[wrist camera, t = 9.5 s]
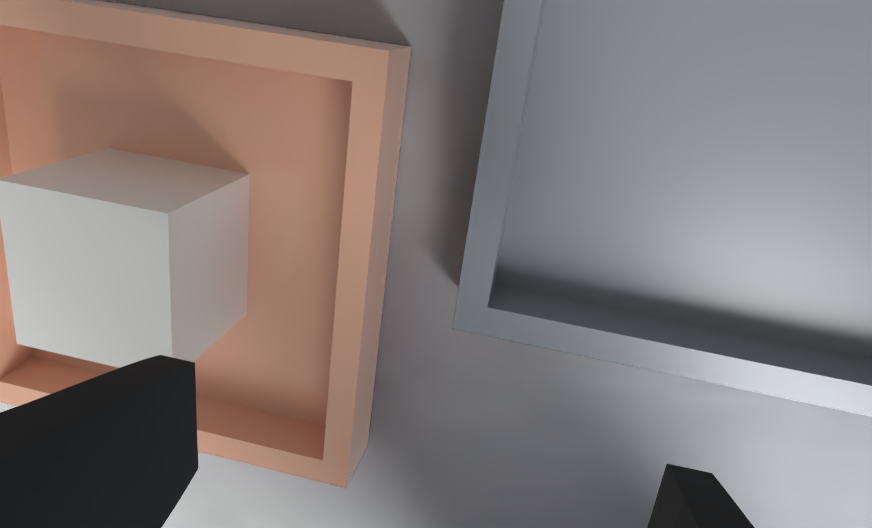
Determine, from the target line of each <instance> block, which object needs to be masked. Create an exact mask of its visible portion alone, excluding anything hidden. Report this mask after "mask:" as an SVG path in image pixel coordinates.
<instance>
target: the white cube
mask: <svg viewBox="0 0 872 528" xmlns="http://www.w3.org/2000/svg"><path fill="white" fill-rule="evenodd" d="M249 192H250V174H247V173H242V172H236V171H231V170H225V169H220V168H215V167H209V166H204V165H198V164H193V163H187V162H182V161H177V160H171V159H166V158H160V157H155V156H150V155H144V154H139V153H133V152H128V151H122V150H117V149H112V148H106V149H102V150H99V151H95V152H92V153H88V154H84V155H81V156H77V157H74V158H70V159H67V160H63V161H59V162H56V163H52V164H49V165H45V166H42V167H38V168H34V169H31V170H27V171H24V172H20V173H17V174H13V175H9V176H6V177H2V178H0V220H1V228H2V235H3V243H4V250H5V258H6V265H7V273H8V280H9V288H10V295H11V303H12V311H13V318H14V326H15V333H16V341H17V344H20V345H24V346H29V347H33V348H37V349H41V350H46V351H50V352H54V353H58V354H63V355H67V356H71V357H75V358H80V359H84V360H88V361H93V362H97V363H101V364H105V365H110V366H114V367H118V368H121V367H123V366H126V365H129V364H132V363H135V362H138V361H141V360H144V359H147V358H150V357H154V356H157V355H163V356H168V357H172V358H177V359H182V360H186V361H191V362H194V361H195V360H196V359H197V358H198V357H199V356H200V355H201V354H203V353H204V352H205V351H206V350H207V349H208V348H209V347H210V346H211V345H213V344H214V343H215V342H216V341H217V340H218V339H219V338H220V337H221V336H222V335H224V334H225V333H226V332H227V331H228V330H229V329H230V328H231V327H232V326H233V325H235V324H236V323H237V322H238V321H239V320H240V319H241V318H242V317H243V316H245V315H246V314H247V291H248V241H249Z"/></svg>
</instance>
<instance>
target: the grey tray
mask: <svg viewBox="0 0 872 528" xmlns="http://www.w3.org/2000/svg"><path fill="white" fill-rule="evenodd" d="M452 329H456V330H461V331H466V332H470V333H475V334H480V335H485V336H489V337H494V338H499V339H504V340H508V341H513V342H518V343H523V344H527V345H532V346H537V347H542V348H547V349H551V350H556V351H561V352H566V353H570V354H575V355H580V356H585V357H589V358H594V359H599V360H604V361H608V362H613V363H618V364H623V365H627V366H632V367H637V368H642V369H647V370H651V371H656V372H661V373H666V374H670V375H675V376H680V377H685V378H689V379H694V380H699V381H704V382H708V383H713V384H718V385H723V386H728V387H732V388H737V389H742V390H747V391H751V392H756V393H761V394H766V395H770V396H775V397H780V398H785V399H789V400H794V401H799V402H804V403H808V404H813V405H818V406H823V407H828V408H832V409H837V410H842V411H847V412H851V413H856V414H861V415H866V416H870V417H872V0H504V3H503V9H502V16H501V22H500V28H499V35H498V41H497V47H496V54H495V60H494V66H493V73H492V79H491V86H490V92H489V98H488V105H487V111H486V117H485V124H484V130H483V136H482V143H481V149H480V155H479V162H478V168H477V175H476V181H475V187H474V194H473V200H472V206H471V213H470V219H469V225H468V232H467V238H466V245H465V251H464V257H463V264H462V270H461V276H460V283H459V289H458V295H457V302H456V308H455V314H454V321H453V327H452Z"/></svg>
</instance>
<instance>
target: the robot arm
mask: <svg viewBox="0 0 872 528" xmlns="http://www.w3.org/2000/svg"><path fill="white" fill-rule="evenodd" d="M197 469H198V444H197V411H196V378H195V362H191V361H186V360H182V359H177V358H172V357H168V356H163V355H157V356H154V357H150V358H147V359H144V360H141V361H138V362H135V363H132V364H129V365H126V366H123V367H121V368H118V369H115V370H112V371H110V372H107V373H104V374H102V375H99V376H97V377H94V378H91V379H89V380H86V381H83V382H81V383H78V384H76V385H73V386H70V387H68V388H65V389H62V390H60V391H57V392H55V393H52V394H49V395H47V396H44V397H41V398H39V399H36V400H33V401H31V402H28V403H26V404H23V405H20V406H18V407H15V408H12V409H9V410H7V411H4V412H1V413H0V528H161V527H162V526H163V524H164V523H165V521H166V520H167V518H168V517H169V515H170V514H171V512H172V510H173V509H174V507H175V506H176V504H177V503H178V501H179V500H180V498H181V496H182V495H183V493H184V491H185V490H186V488H187V486H188V485H189V483H190V481H191V480H192V478H193V476H194V475H195V473H196V471H197ZM648 528H754V527H753V525H752V524H751V523H750V522H749V520H748V519H747V518H746V516H745V515H744V514H743V512H742V511H741V510H740V508H739V507H738V506H737V505H736V503H735V502H734V501H733V499H732V498H731V497H730V495H729V494H728V493H727V492H726V490H725V489H724V488H723V486H722V485H721V484H720V483H719V481H718V480H717V479H716V478H715V476H714V475H713V474H712V473H708V472H703V471H698V470H694V469H689V468H684V467H680V466H675V465H671V464H667V465H666V468H665V472H664V475H663V478H662V482H661V485H660V488H659V492H658V495H657V498H656V501H655V505H654V508H653V511H652V515H651V518H650V521H649V525H648Z"/></svg>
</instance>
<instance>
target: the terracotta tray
mask: <svg viewBox="0 0 872 528" xmlns="http://www.w3.org/2000/svg"><path fill="white" fill-rule="evenodd" d="M410 56H411V47H409V46H403V45H396V44H390V43H383V42H376V41H370V40H363V39H357V38H350V37H343V36H337V35H330V34H324V33H317V32H310V31H304V30H297V29H291V28H284V27H277V26H271V25H264V24H258V23H251V22H244V21H238V20H231V19H225V18H218V17H211V16H205V15H198V14H192V13H185V12H178V11H172V10H165V9H159V8H152V7H145V6H139V5H132V4H126V3H119V2H112V1H106V0H0V178H2V177H6V176H9V175H13V174H17V173H20V172H24V171H27V170H31V169H34V168H38V167H42V166H45V165H49V164H52V163H56V162H59V161H63V160H67V159H70V158H74V157H77V156H81V155H84V154H88V153H92V152H95V151H99V150H102V149H106V148H112V149H117V150H122V151H128V152H133V153H139V154H144V155H150V156H155V157H160V158H166V159H171V160H177V161H182V162H187V163H193V164H198V165H204V166H209V167H215V168H220V169H225V170H231V171H236V172H242V173H247V174H250V192H249V241H248V291H247V314H246V315H245V316H243V317H242V318H241V319H240V320H239V321H238V322H237V323H236V324H235V325H233V326H232V327H231V328H230V329H229V330H228V331H227V332H226V333H225V334H224V335H222V336H221V337H220V338H219V339H218V340H217V341H216V342H215V343H214V344H213V345H211V346H210V347H209V348H208V349H207V350H206V351H205V352H204V353H203V354H201V355H200V356H199V357H198V358H197V359H196V360H195V361H194V362H195V378H196V411H197V444H198V451H199V452H203V453H207V454H211V455H215V456H219V457H223V458H227V459H231V460H235V461H239V462H243V463H247V464H251V465H255V466H259V467H264V468H268V469H272V470H276V471H280V472H284V473H288V474H292V475H296V476H300V477H304V478H308V479H312V480H316V481H320V482H324V483H328V484H332V485H336V486H340V487H344V488H347V486H348V484H349V482H350V480H351V478H352V476H353V474H354V472H355V470H356V468H357V466H358V463H359V461H360V459H361V457H362V455H363V453H364V451H365V449H366V447H367V445H368V439H369V430H370V420H371V411H372V402H373V393H374V384H375V375H376V366H377V357H378V347H379V338H380V329H381V320H382V311H383V302H384V293H385V284H386V275H387V265H388V256H389V247H390V238H391V229H392V220H393V211H394V202H395V193H396V183H397V174H398V165H399V156H400V147H401V138H402V129H403V120H404V110H405V101H406V92H407V83H408V74H409V65H410ZM115 369H118V367H114V366H110V365H105V364H101V363H97V362H93V361H88V360H84V359H80V358H75V357H71V356H67V355H63V354H58V353H54V352H50V351H46V350H41V349H37V348H33V347H29V346H24V345H20V344H17V341H16V333H15V326H14V318H13V311H12V303H11V295H10V288H9V280H8V273H7V265H6V258H5V250H4V243H3V235H2V228H1V220H0V402H3V403H7V404H11V405H15V406H20V405H23V404H26V403H28V402H31V401H33V400H36V399H39V398H41V397H44V396H47V395H49V394H52V393H55V392H57V391H60V390H62V389H65V388H68V387H70V386H73V385H76V384H78V383H81V382H83V381H86V380H89V379H91V378H94V377H97V376H99V375H102V374H104V373H107V372H110V371H112V370H115Z"/></svg>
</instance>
